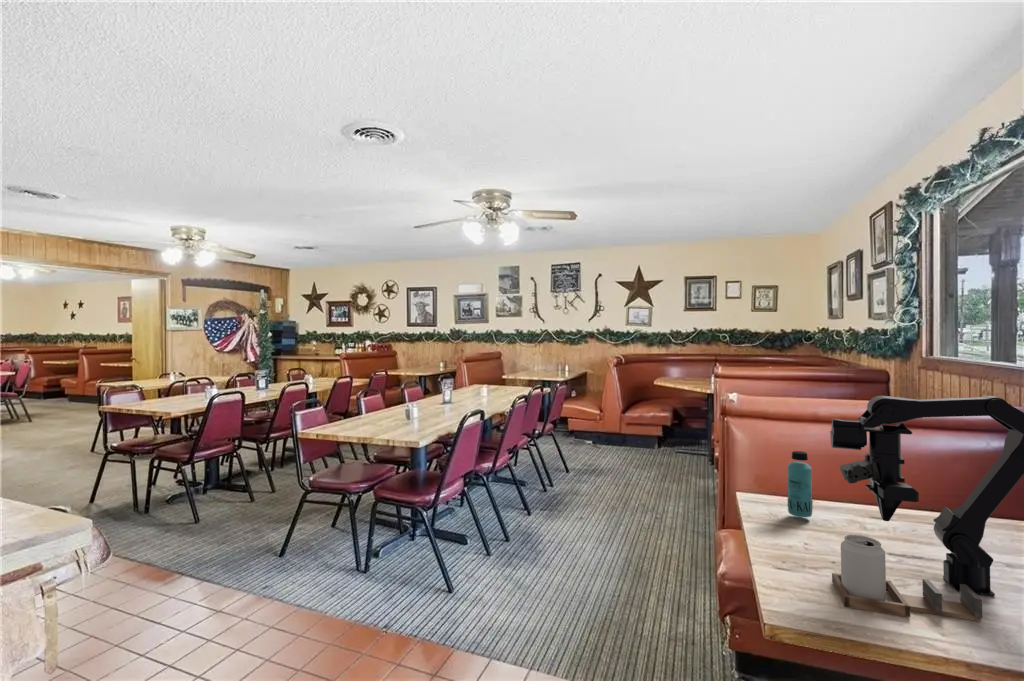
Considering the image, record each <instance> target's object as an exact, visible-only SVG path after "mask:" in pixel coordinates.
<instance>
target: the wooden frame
mask: <svg viewBox="0 0 1024 681" xmlns="http://www.w3.org/2000/svg"><path fill="white" fill-rule="evenodd" d="M831 583H832V585H833V586H834V589H835V591H836V593H837V595H838V597H839V598H840V600H841V602H842V604H843V606H844V607H845V608H851V609H857V610H865V611H871V612H877V613H883V614H884V613H885V614H888V615H889V614H891V615H895V616H903V617H909V618H910V617H911V611H913V612H919V613H927V614H932V615H938V616H944V617H951V618H952V617H953V618H957V619H965V620H972V621H977V622H982V619H983V599H982V598H981V597H980V596H979V594H976V593H975V592H974V591H973V590H971V589H970V588H969V587H968V586H967V585H965V584H960V591H959V601H960V602H958V601H953V600H947V599H945V600H944V599H943V594H942V592H941V591H940V590H939V588H937V587H936V586H935V585H934V584H933V582H932V581H930V579H928V578H927V579H925V578H922V596H918V595H912V594H911V595H910V594H904V593H900V591H899V590H898V589H897V587H896V586H895V585H894V584H893V582H892V581H891V580H887V579H886V593H888V595H889V596H890V597H891V598H892V600H893V601H889V600H886V601H883V600H876V599H870V598H863V597H857V596H850V595H848V594H847V592H846V590H845V588H844V587H843V585H842V583H841V573H836V572H835V573H834V572H831Z"/></svg>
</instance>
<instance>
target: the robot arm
mask: <svg viewBox="0 0 1024 681" xmlns="http://www.w3.org/2000/svg"><path fill="white" fill-rule="evenodd" d="M866 406H867V407H866V410H865V411H864V412H863V413H862V414H861V415H860V416H859V417H858V419H857V420H845V419H839V418H832V419H831V429H830V432H829V433H830V434H829V435H830V445H831V446H830V448H832V449H842V450H855V451H861V450H862V448H865V447H867V445H868V446H869V448H868V449H869V453H868V452H867V453H866V454H864V460H858V461H853V462H849V463H845V464H841V465H839V469H840V472H841V473H842V477H843V479H844V481H846V482H847V483H848V484H855V483H856V484H857V483H858V482H861V481H865V480H868V481H869V482H868V484H865V487H866V488H867V489H868V490H869V491H871V492H872V494H873V495H874V498H875V502H876V504H877V508H878V510H879V513H880V517H881V520H882V521H883V522H890V520H891V519H892V517H893V516H894V514H895V512H897V509H898V508H899V506H900V505H901V504H902V503H903V502H910V503H911V502H912V503H920V498H919V497H920V493H919V492H918V491H917V490H916V489H915V488H914V487H913V486H911V485H910V484H908V483H906V482H905V480H906V479H905V477H903V476H902V465H905V459H904V458H903V457H902V445H901V444H902V443H901V442H902V441H901V439H902V438H901V436H902V435H912V434H913V431H912V430H910V429H909V428H908V427H906V425H905V423H904V422H909V421H913V420H916V419H921V418H922V419H923V418H947V417H949V418H950V417H952V418H953V417H990V418H992V420H994V421H996V422H997V423H998V424H999V425H1001V426H1002V427H1004V428H1005V429H1007V430H1008V432H1007V435H1006V436H1005V440H1004V443H1003V449H1002V452H1001V454H1000V456H999V457H998V458H997V459H996V461H995V462H994V463H993V465H991V467H990V468H989V469H988V471H987V472H986V473H985V474H984V476H983V477H982V478H981V480H980V481H979V482H978V483H977V485H975V487H974V488H973V490H971V493H970V494H969V495H968V496H967V498H965V500H964V501H963V502H962V504H961V505H960V506H958V507H956V508H954V509H949V507H947V506H944V507H943V508H942V509H941V511H940V514H939V515H938V516H937V517H935V518H934V519H933V522H934V525H933V531H934V535H935V537H936V538H937V539H938V540H939V542H940V543H942V545H944V547H945V548H946V549H947V550H948V551H949V552H946V553H945V554H946V555H945V557H946V558H945V559H944V560H943V565H942V566H943V575H942V578H943V580H944V581H945V582H946V583H947V584H949V586H951V588H953V589H954V590H955V591H957V592H960V584H965V585H967V586H968V587H969V588H970V589H971V590H973V591H974V592H975V593H976V594H977V595H983V596H991V597H995V596H996V593H995V592H994V591H993V590H992V589H991V588H992V587H991V566H992V564H993V563H994V562H993V561H994V558H993V557H992V556H991V555H990V554H988V552H987V551H986V550H985V549H983V547H981V546H980V545H981V542H982V540H983V537H984V534H985V533H984V532H985V528H986V524H987V520H988V519H989V518H990V517H991V516H992V515H993V513H994V512H995V511H996V510H997V508H998V507H999V506H1000V505H1001V504H1002V502H1003V501H1004V500H1005V498H1006V497H1007V496H1008V495H1009V493H1010V492H1011V491H1012V490H1013V488H1014V487H1015V486H1016V485H1017V484H1018V483H1019V481H1020V480H1021V479H1022V477H1023V476H1024V412H1023V411H1022V410H1020V409H1018V408H1017V407H1015V406H1013V405H1012V404H1010V403H1008V402H1007V400H1005V399H1004V398H1001V397H998V396H992V395H984V396H978V397H977V396H975V397H953V398H952V397H951V398H926V399H914V398H907V397H897V396H888V395H876V396H874V397H871V399H870V400H868V402H867V405H866ZM893 424H894V425H893ZM868 440H869V441H868ZM868 442H869V443H868Z"/></svg>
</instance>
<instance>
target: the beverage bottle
mask: <svg viewBox="0 0 1024 681" xmlns="http://www.w3.org/2000/svg"><path fill="white" fill-rule="evenodd" d="M791 459H792V460H795V461H791V462H790V463H789V464H788V465H787V496H786V497H787V502H786V504H787V511H788V513H789V515H791V516H794V517H798V518H811V517H812V516H813V508H814V505H813V502H814V500H813V475H812V473H813V472H812V471H813V467H811V466H810V465H809V464H808V463H807V462H804V461H808V460H809V457H808V453H807V452H805V451H799V450H798V451H797V450H795V451H792V452H791ZM801 461H802V462H801Z"/></svg>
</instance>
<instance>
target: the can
mask: <svg viewBox="0 0 1024 681" xmlns="http://www.w3.org/2000/svg"><path fill="white" fill-rule="evenodd" d="M843 539H844V540H843V541H842V542H841V543H840V567H841V568H840V574H841V583H842V585H843V587H844V588H845V590H846V592H847V594H848V595H850V596H857V597H863V598H870V599H876V600H883V601H887V592H886V580H887V579H886V578H887V575H886V572H887V571H886V551H885V550H884V548H882V543H881V542H880V541H879V540H877V539H875V538H872V537H869V536H865V535H861V534H859V535H858V534H849V535H848V534H847V535H845V536H844V537H843Z"/></svg>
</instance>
